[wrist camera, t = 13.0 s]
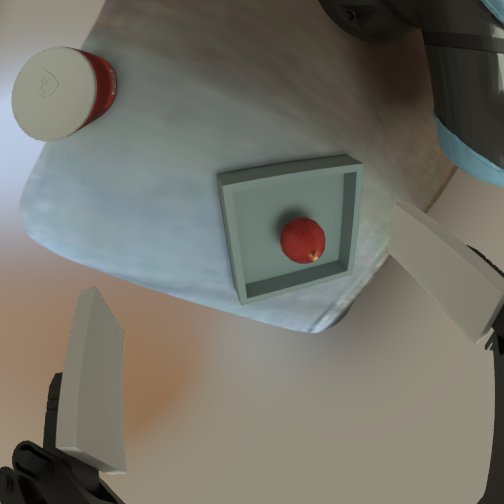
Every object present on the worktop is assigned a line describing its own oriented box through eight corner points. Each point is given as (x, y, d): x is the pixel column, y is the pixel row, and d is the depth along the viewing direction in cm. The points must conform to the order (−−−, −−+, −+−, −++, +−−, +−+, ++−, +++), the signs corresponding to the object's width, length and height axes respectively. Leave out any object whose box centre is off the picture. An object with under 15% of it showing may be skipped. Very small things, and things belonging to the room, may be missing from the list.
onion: (318, 215, 41) (347, 245, 34) (297, 249, 43) (322, 283, 37) (285, 201, 38) (311, 231, 32) (264, 238, 40) (285, 273, 34)
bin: (347, 154, 38) (363, 163, 34) (340, 260, 48) (352, 274, 45) (216, 174, 35) (222, 185, 31) (234, 287, 45) (241, 305, 42)
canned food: (84, 42, 21) (49, 29, 13) (133, 82, 26) (116, 82, 17) (42, 97, 23) (-5, 109, 14) (89, 134, 27) (57, 160, 19)
